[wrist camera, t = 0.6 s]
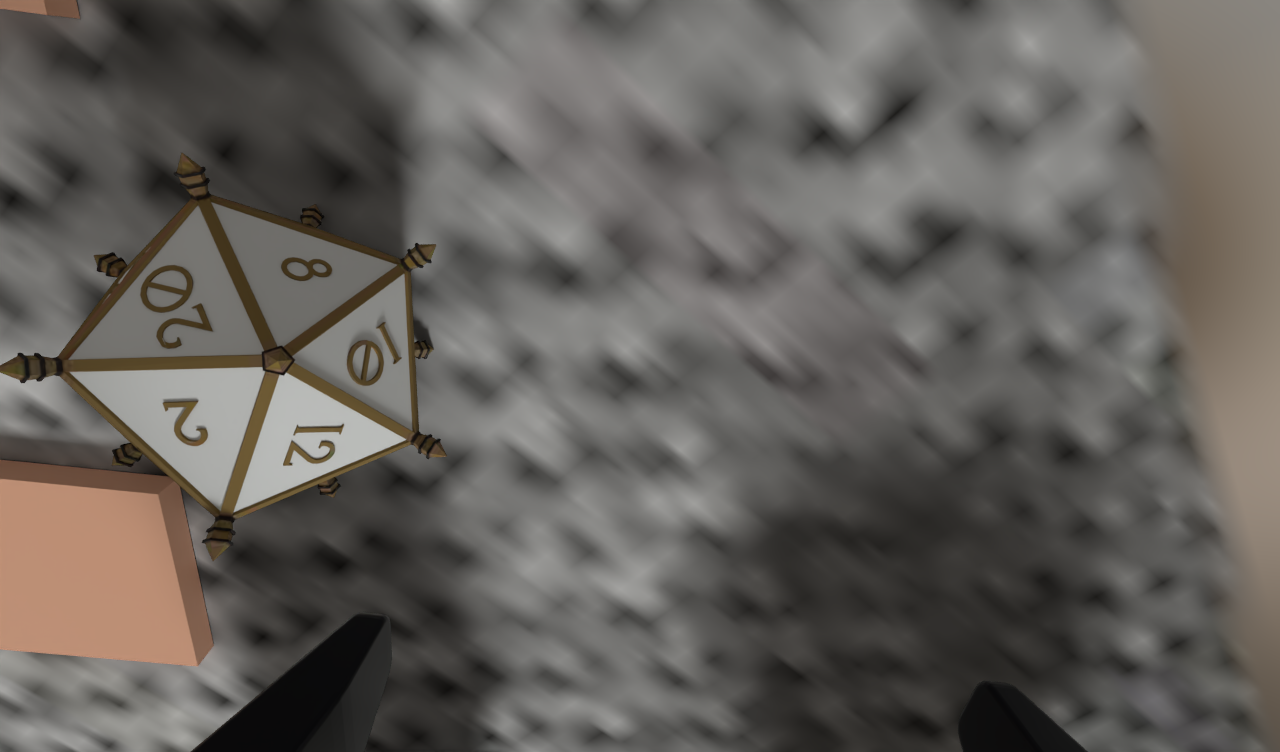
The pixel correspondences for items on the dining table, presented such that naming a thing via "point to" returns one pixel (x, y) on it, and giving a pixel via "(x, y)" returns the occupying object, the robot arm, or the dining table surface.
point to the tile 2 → (98, 566)
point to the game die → (249, 355)
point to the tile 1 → (43, 7)
